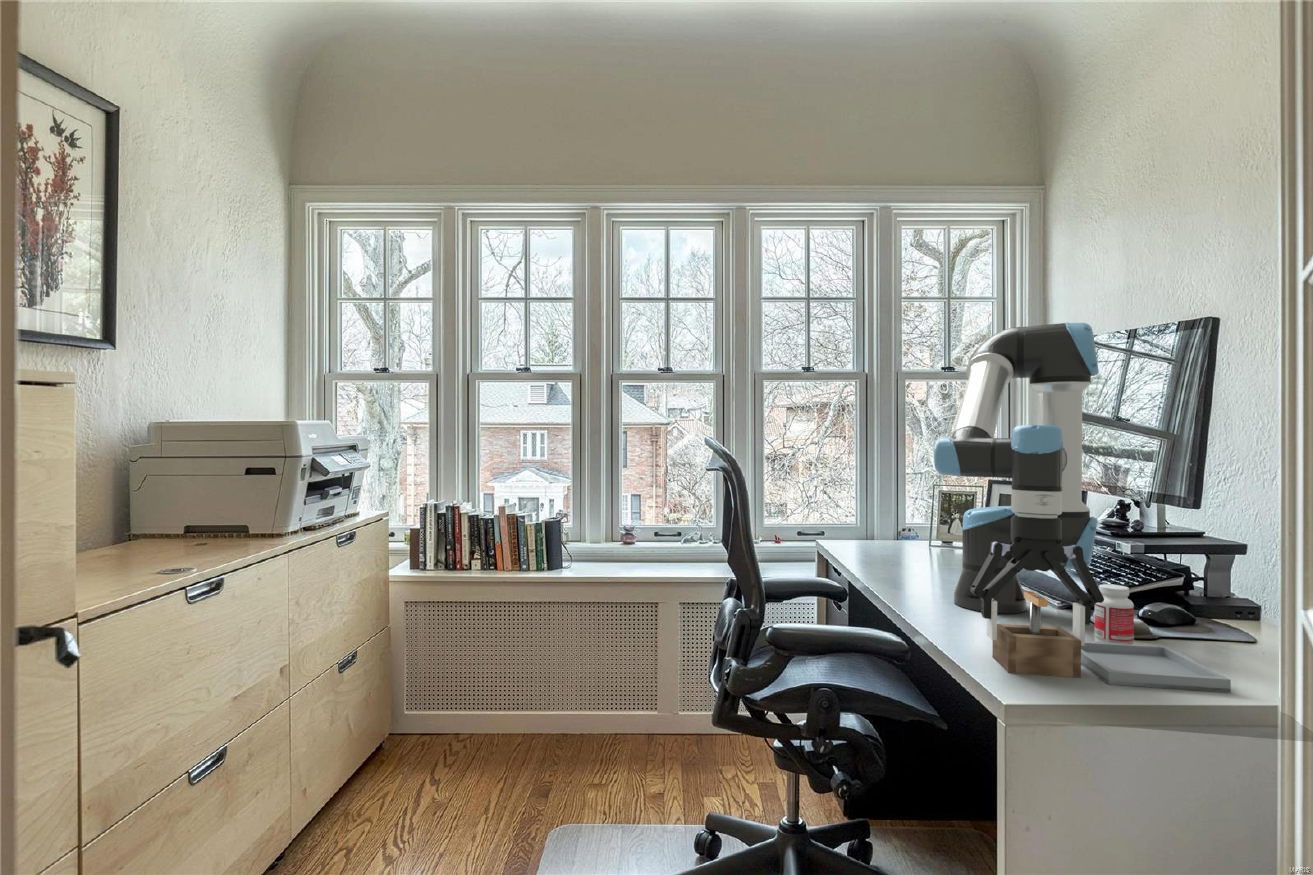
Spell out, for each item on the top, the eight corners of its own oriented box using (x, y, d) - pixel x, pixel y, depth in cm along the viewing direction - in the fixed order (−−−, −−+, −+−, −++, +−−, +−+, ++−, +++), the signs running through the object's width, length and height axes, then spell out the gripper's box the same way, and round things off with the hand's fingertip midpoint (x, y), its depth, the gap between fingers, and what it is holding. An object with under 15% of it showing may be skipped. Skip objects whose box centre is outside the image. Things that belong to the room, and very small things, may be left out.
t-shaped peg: (1022, 660, 116) (1023, 590, 116) (1032, 661, 116) (1033, 591, 116) (1037, 672, 110) (1037, 599, 110) (1047, 673, 109) (1048, 599, 109)
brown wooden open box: (1008, 672, 110) (1008, 636, 110) (990, 655, 119) (990, 621, 119) (1080, 677, 108) (1081, 640, 108) (1056, 659, 117) (1057, 625, 117)
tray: (1062, 651, 122) (1062, 640, 122) (1166, 657, 119) (1166, 646, 119) (1108, 684, 105) (1108, 671, 105) (1230, 692, 102) (1230, 679, 102)
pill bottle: (1139, 646, 125) (1140, 587, 125) (1125, 651, 122) (1125, 591, 122) (1103, 638, 130) (1103, 581, 130) (1088, 643, 127) (1088, 585, 127)
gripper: (964, 514, 111) (962, 641, 111) (1128, 520, 107) (1127, 652, 107) (952, 510, 119) (950, 629, 118) (1105, 516, 114) (1104, 639, 114)
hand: (1034, 640), depth 112 cm, fingers open, 13 cm apart
